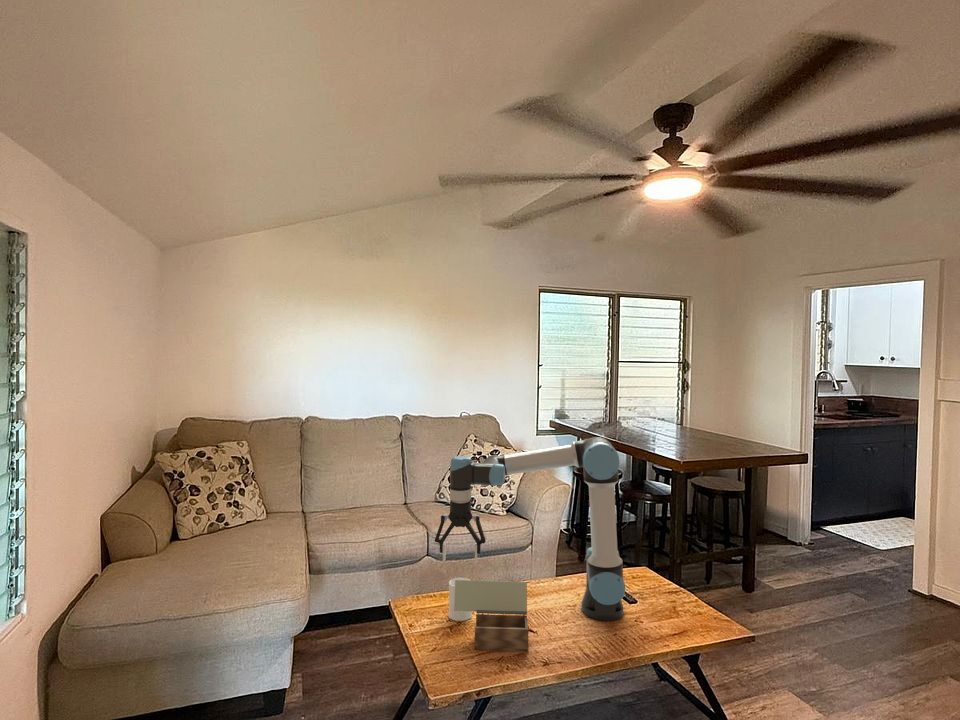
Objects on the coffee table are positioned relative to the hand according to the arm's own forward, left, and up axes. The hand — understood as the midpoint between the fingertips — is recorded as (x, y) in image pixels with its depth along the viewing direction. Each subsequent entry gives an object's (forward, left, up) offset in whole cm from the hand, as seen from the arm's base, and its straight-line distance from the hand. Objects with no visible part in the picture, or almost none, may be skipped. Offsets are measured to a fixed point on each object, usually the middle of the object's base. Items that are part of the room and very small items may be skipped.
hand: (460, 561), depth 189 cm
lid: (-11, +10, -8) cm, 17 cm away
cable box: (-15, +16, -20) cm, 30 cm away
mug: (0, 0, -20) cm, 20 cm away
